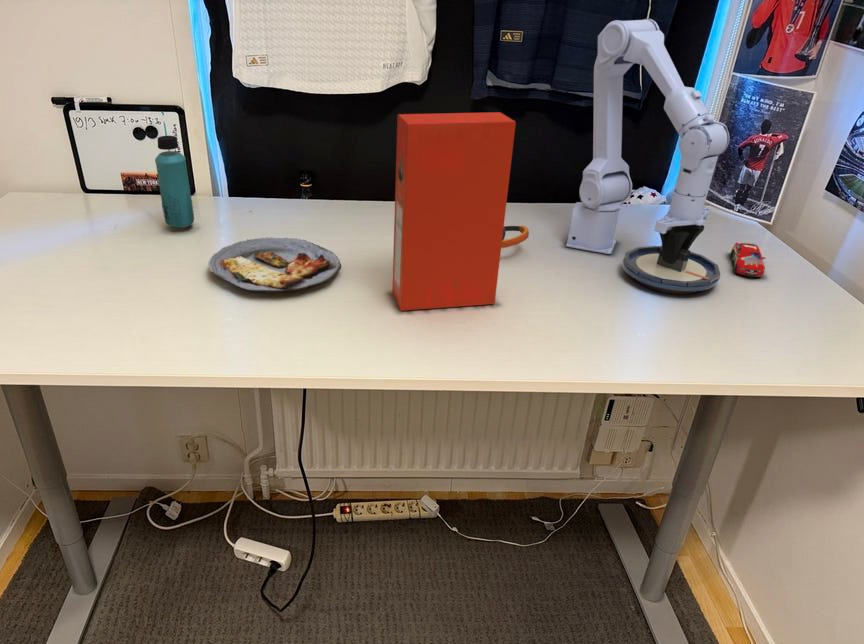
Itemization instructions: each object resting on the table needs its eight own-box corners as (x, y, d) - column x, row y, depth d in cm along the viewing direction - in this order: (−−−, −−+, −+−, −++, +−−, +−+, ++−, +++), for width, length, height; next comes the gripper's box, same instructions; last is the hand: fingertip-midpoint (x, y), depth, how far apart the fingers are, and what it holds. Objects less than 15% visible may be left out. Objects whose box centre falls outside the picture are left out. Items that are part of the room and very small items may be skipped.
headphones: (456, 213, 155) (540, 211, 144) (459, 236, 158) (542, 235, 147) (420, 236, 143) (508, 236, 132) (424, 260, 146) (511, 262, 135)
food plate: (363, 274, 133) (364, 257, 131) (270, 313, 118) (268, 295, 117) (281, 239, 147) (280, 223, 145) (188, 270, 133) (186, 253, 131)
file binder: (391, 291, 127) (397, 113, 110) (480, 285, 130) (499, 111, 113) (401, 312, 120) (408, 125, 103) (494, 305, 123) (516, 122, 106)
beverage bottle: (202, 227, 152) (190, 135, 141) (179, 236, 147) (166, 142, 137) (181, 221, 155) (168, 131, 144) (158, 229, 150) (143, 137, 140)
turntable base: (629, 285, 131) (630, 278, 131) (637, 261, 141) (638, 254, 141) (701, 299, 127) (703, 292, 126) (704, 273, 137) (706, 266, 136)
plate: (604, 269, 133) (609, 246, 131) (649, 245, 144) (654, 224, 142) (693, 300, 123) (700, 276, 120) (734, 272, 133) (742, 249, 131)
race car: (763, 281, 134) (770, 263, 132) (733, 277, 136) (739, 258, 134) (756, 256, 145) (762, 239, 143) (728, 252, 146) (734, 235, 144)
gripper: (686, 205, 119) (667, 276, 126) (732, 191, 126) (712, 259, 133) (652, 194, 123) (635, 263, 131) (698, 181, 131) (680, 247, 138)
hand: (672, 260), depth 132 cm, fingers closed on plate, 2 cm apart
